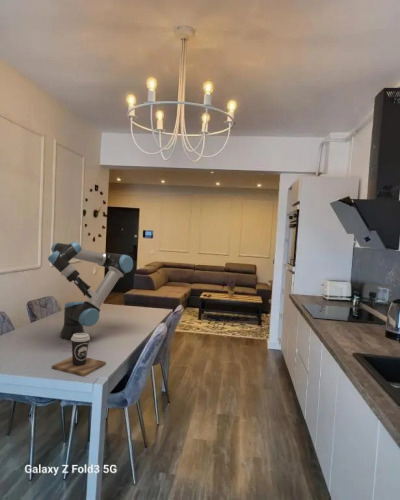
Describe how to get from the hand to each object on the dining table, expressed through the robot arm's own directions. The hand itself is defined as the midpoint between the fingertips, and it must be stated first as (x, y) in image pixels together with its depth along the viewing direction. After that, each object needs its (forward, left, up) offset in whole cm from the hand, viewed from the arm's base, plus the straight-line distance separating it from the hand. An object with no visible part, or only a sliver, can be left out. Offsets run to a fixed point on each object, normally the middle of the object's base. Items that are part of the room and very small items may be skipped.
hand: (95, 299), depth 213 cm
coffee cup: (+13, -28, -28) cm, 42 cm away
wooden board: (+13, -28, -30) cm, 43 cm away
